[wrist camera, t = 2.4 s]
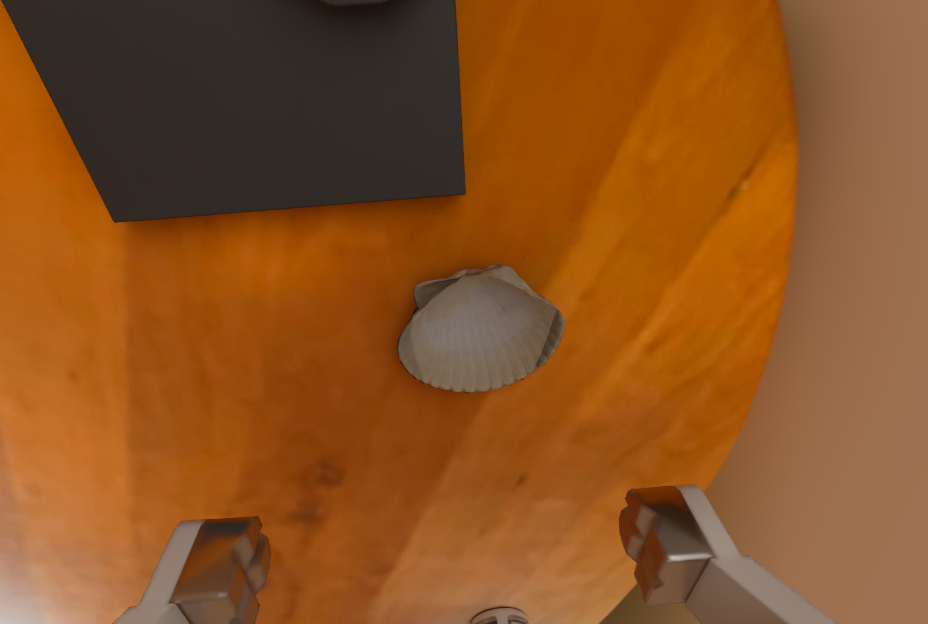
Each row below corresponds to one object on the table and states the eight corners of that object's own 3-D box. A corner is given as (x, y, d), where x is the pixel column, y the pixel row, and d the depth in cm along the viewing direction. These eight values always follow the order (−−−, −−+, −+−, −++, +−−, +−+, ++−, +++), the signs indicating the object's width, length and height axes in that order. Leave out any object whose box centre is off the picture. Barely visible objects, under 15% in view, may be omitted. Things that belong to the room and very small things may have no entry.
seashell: (424, 359, 27) (562, 363, 26) (413, 403, 25) (563, 409, 24) (392, 246, 22) (566, 242, 20) (374, 289, 19) (568, 288, 18)
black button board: (438, -252, 13) (442, -314, 10) (463, 184, 20) (469, 208, 17) (-77, -228, 12) (-202, -288, 10) (131, 210, 19) (89, 240, 17)
